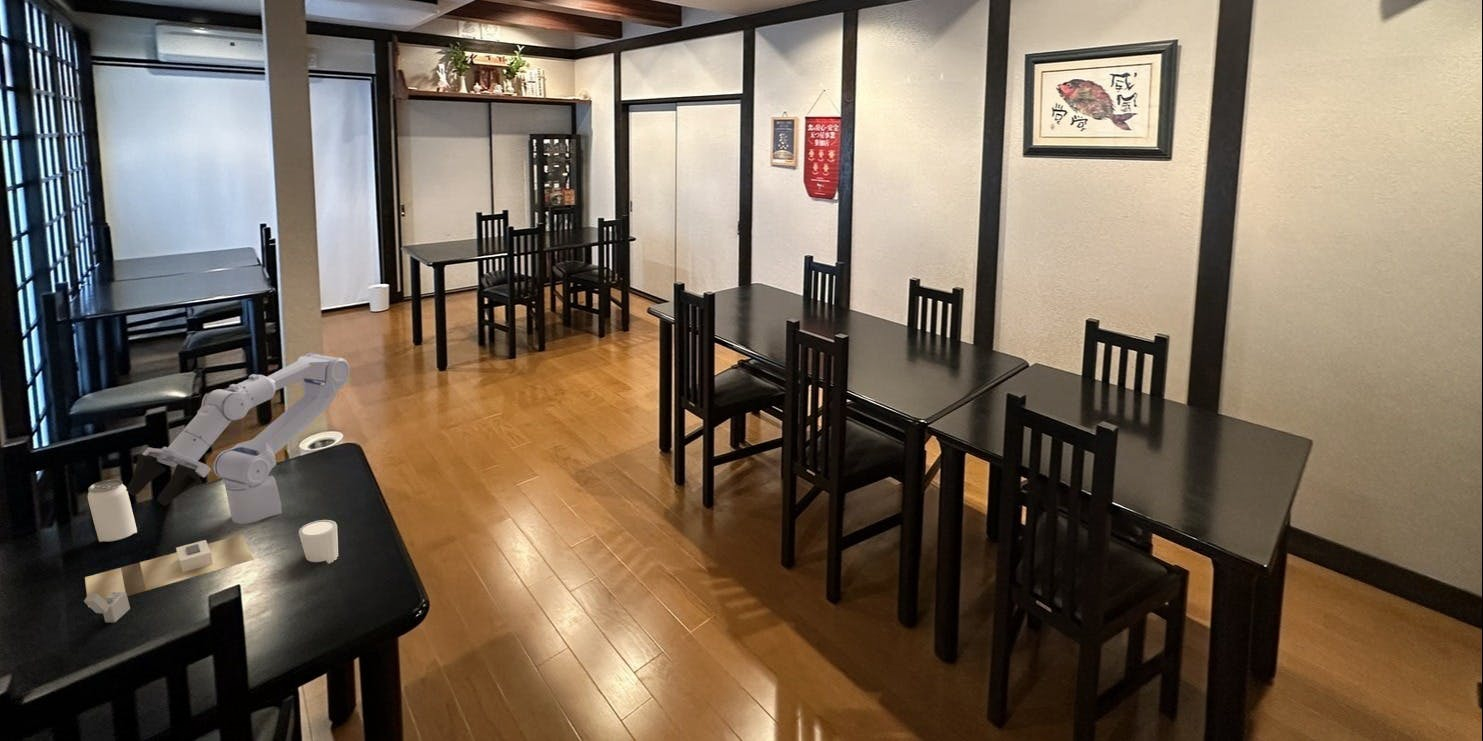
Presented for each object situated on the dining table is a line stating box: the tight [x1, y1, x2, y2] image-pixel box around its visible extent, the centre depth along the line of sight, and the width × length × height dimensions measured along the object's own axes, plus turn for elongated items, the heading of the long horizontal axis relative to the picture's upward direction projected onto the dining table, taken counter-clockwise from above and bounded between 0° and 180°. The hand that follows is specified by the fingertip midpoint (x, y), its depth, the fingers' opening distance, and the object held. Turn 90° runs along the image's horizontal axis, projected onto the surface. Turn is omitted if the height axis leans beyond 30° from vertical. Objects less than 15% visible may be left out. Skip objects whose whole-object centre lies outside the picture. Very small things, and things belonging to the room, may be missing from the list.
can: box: [87, 479, 138, 543], centre depth 167 cm, size 6×6×12 cm
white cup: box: [298, 519, 339, 565], centre depth 162 cm, size 7×7×7 cm
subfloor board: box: [84, 534, 255, 608], centre depth 157 cm, size 26×12×1 cm, turn 130°
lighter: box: [83, 591, 131, 623], centre depth 140 cm, size 7×2×8 cm, turn 3°
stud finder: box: [175, 539, 213, 572], centre depth 159 cm, size 5×6×3 cm
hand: (145, 497), depth 154 cm, fingers open, 7 cm apart
